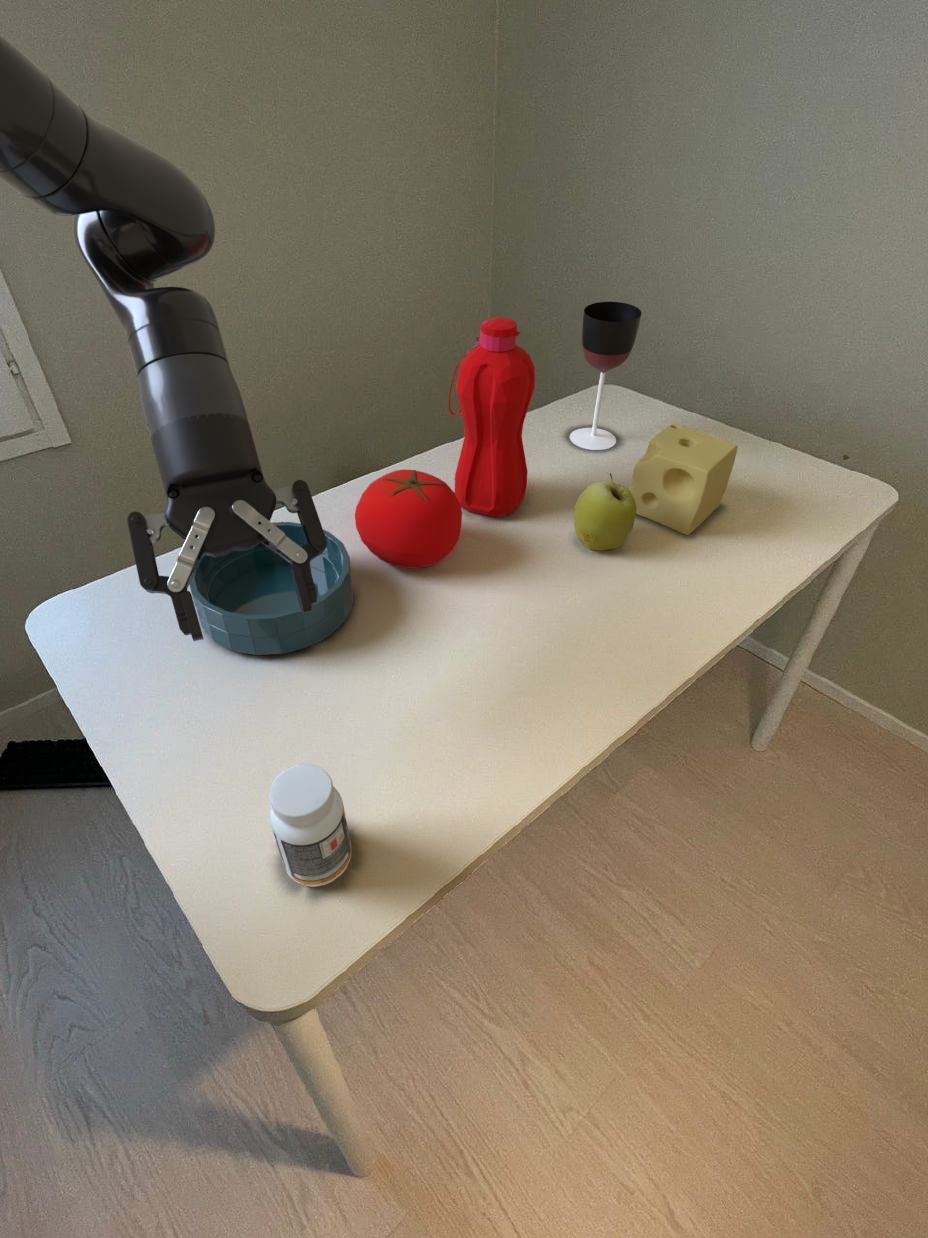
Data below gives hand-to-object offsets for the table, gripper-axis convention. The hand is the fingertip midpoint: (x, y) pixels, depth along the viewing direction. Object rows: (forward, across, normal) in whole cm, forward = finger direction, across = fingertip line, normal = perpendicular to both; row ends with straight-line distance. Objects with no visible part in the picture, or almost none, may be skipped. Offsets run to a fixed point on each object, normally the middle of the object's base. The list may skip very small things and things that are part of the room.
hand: (254, 625), depth 56 cm
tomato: (-6, +22, +30) cm, 38 cm away
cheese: (-3, +60, +27) cm, 66 cm away
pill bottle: (+20, 0, +4) cm, 20 cm away
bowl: (-3, +4, +27) cm, 27 cm away
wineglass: (-19, +60, +43) cm, 76 cm away
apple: (-1, +46, +25) cm, 52 cm away
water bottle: (-12, +36, +36) cm, 52 cm away
